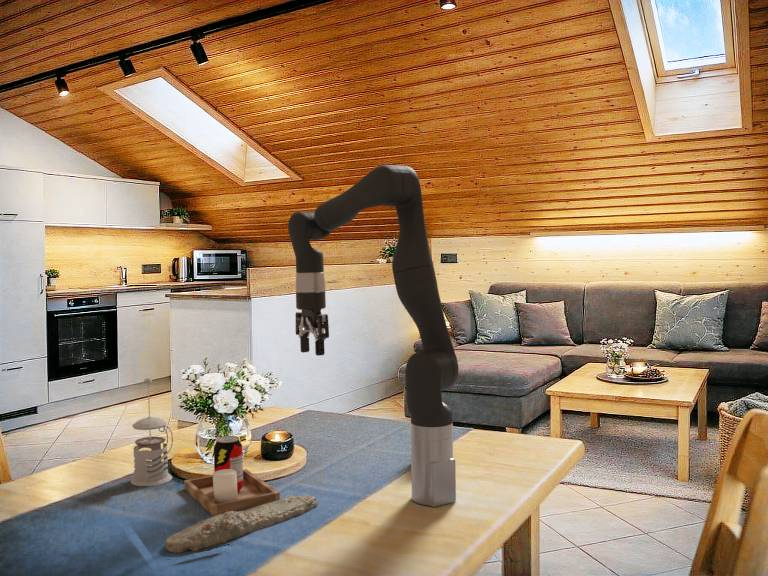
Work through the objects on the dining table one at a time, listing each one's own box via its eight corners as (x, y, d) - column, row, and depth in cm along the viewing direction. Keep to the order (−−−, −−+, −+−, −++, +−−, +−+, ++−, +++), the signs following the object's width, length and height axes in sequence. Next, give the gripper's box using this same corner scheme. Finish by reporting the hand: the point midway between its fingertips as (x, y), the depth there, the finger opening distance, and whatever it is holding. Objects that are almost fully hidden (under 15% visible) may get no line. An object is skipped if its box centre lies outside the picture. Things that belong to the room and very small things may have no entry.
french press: (121, 482, 177) (117, 380, 176) (157, 469, 188) (153, 372, 186) (151, 488, 173) (147, 383, 171) (186, 474, 183) (182, 374, 182)
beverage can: (235, 484, 172) (233, 433, 171) (248, 491, 167) (247, 439, 166) (210, 490, 168) (208, 438, 167) (223, 497, 163) (221, 444, 162)
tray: (279, 506, 160) (279, 492, 160) (212, 520, 152) (212, 506, 152) (246, 481, 177) (246, 469, 177) (184, 493, 169) (184, 480, 169)
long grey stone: (329, 518, 156) (299, 510, 163) (329, 494, 156) (299, 486, 163) (183, 563, 131) (155, 550, 138) (182, 533, 131) (154, 522, 138)
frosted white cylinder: (241, 505, 158) (240, 473, 157) (220, 511, 155) (218, 478, 154) (232, 498, 162) (230, 467, 161) (210, 504, 159) (208, 472, 158)
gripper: (285, 290, 192) (287, 352, 192) (309, 291, 180) (311, 357, 180) (311, 289, 196) (313, 350, 196) (336, 290, 184) (338, 355, 184)
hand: (312, 353), depth 188 cm, fingers open, 8 cm apart
